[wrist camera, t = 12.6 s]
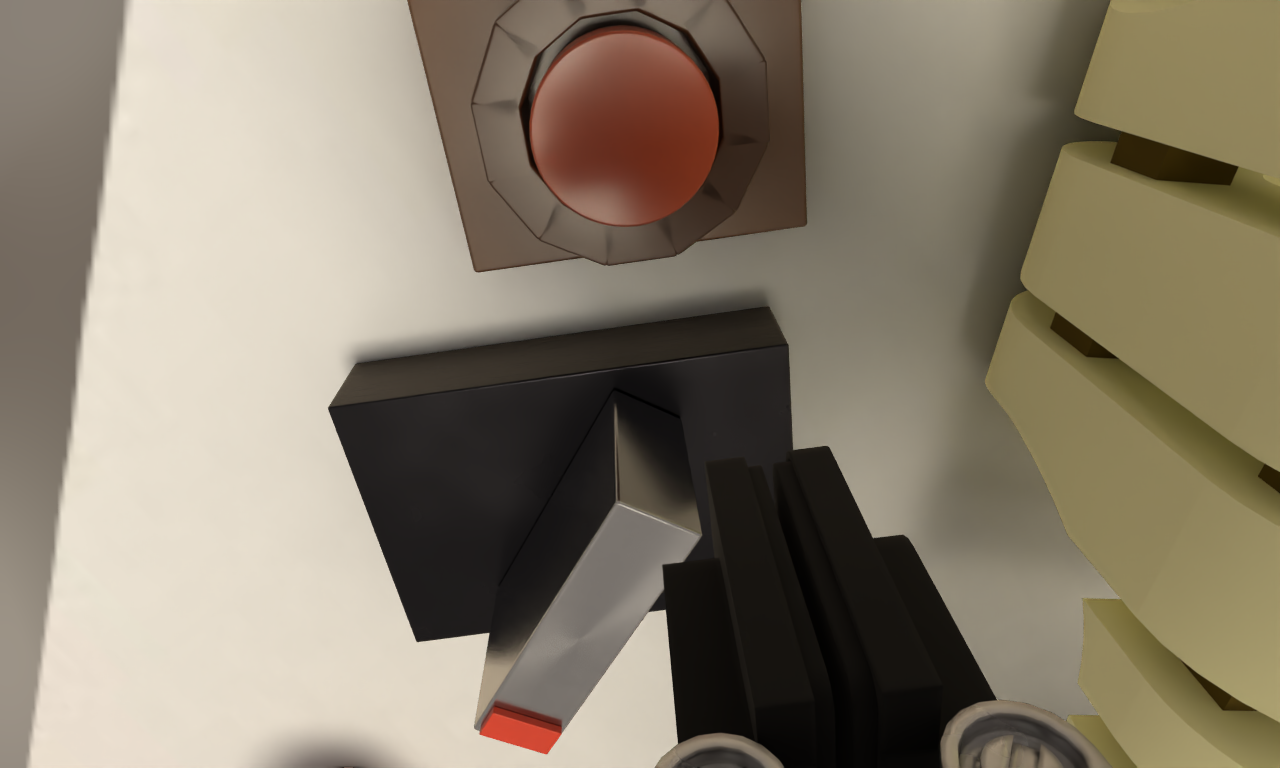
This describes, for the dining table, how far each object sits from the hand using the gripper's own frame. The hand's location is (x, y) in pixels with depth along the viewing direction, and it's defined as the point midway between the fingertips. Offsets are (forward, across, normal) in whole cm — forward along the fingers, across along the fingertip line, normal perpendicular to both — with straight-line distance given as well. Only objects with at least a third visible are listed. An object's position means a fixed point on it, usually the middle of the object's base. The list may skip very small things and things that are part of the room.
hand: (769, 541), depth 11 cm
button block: (+15, +1, -4) cm, 16 cm away
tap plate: (+15, +4, +8) cm, 18 cm away
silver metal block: (+12, +4, +8) cm, 15 cm away
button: (+12, +1, -4) cm, 13 cm away
